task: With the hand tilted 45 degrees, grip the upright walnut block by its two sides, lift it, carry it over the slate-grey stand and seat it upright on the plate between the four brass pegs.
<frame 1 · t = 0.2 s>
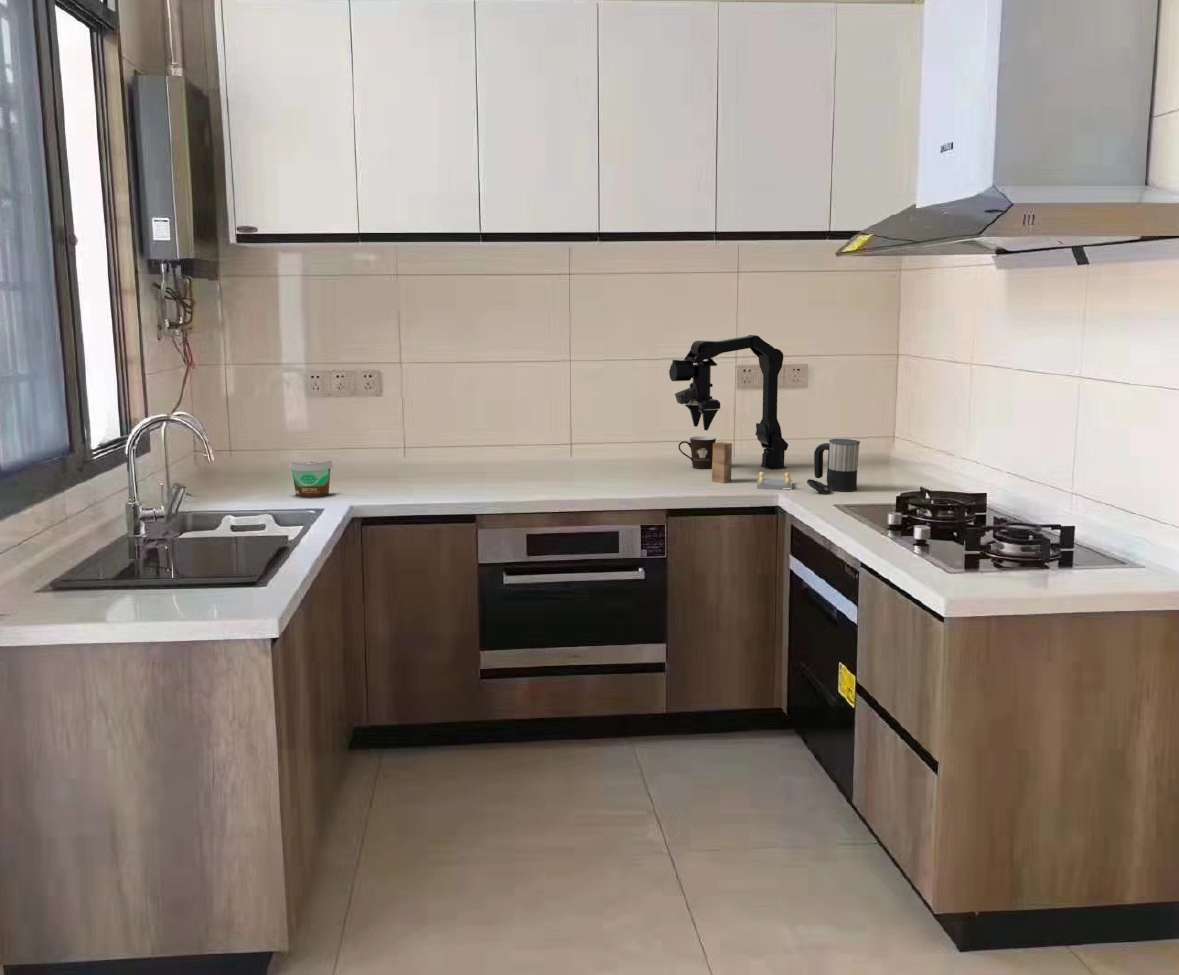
hand: (700, 428, 364), 14 cm above the worktop, tool pointing down, fingers open, 9 cm apart
coffee mug: (698, 467, 376), on the worktop
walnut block: (721, 481, 351), on the worktop
peg stand: (774, 485, 343), on the worktop
food container: (312, 496, 324), on the worktop
milk frother: (832, 491, 336), on the worktop
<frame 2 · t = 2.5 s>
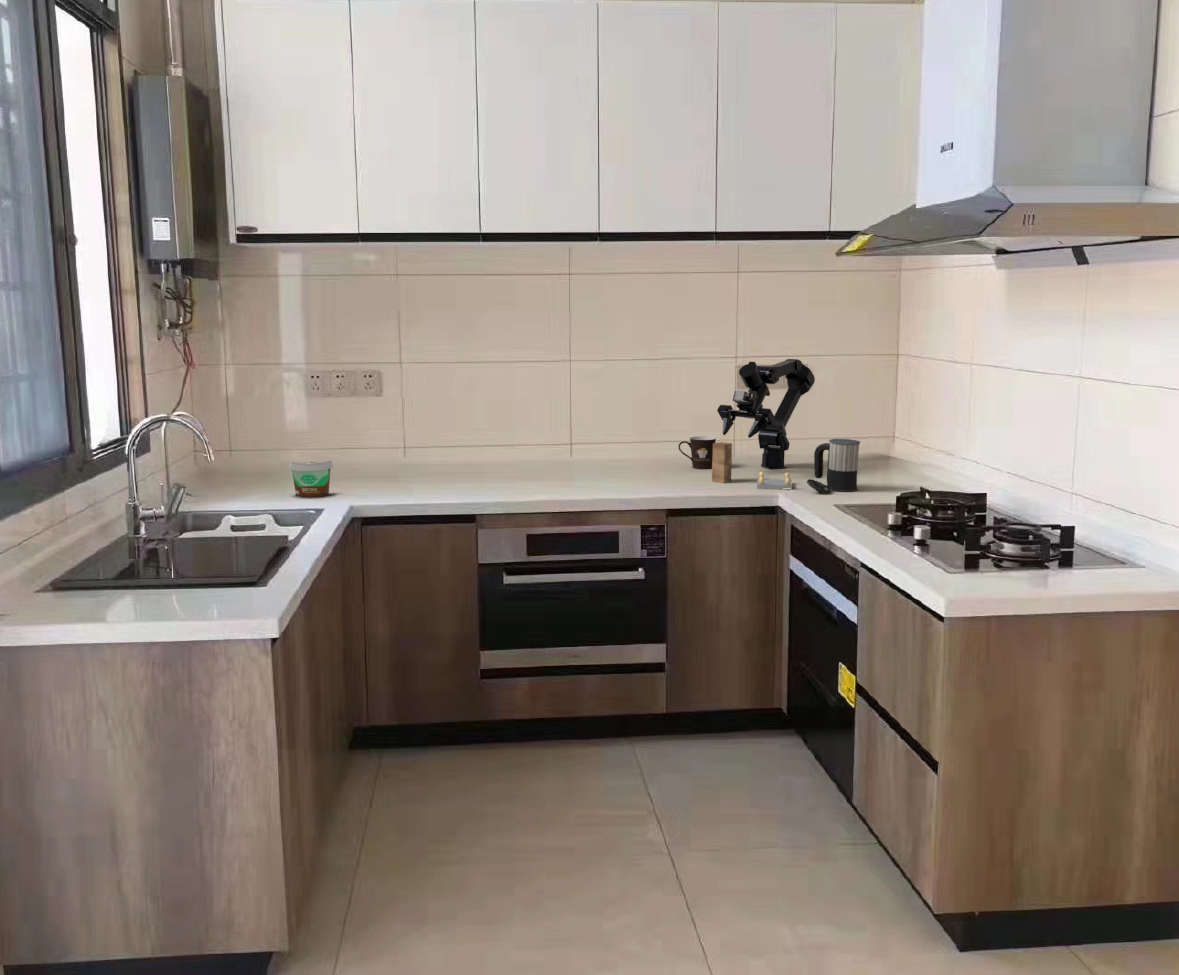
hand: (736, 435, 354), 13 cm above the worktop, tool tilted 45°, fingers open, 9 cm apart
nothing on the worktop moved.
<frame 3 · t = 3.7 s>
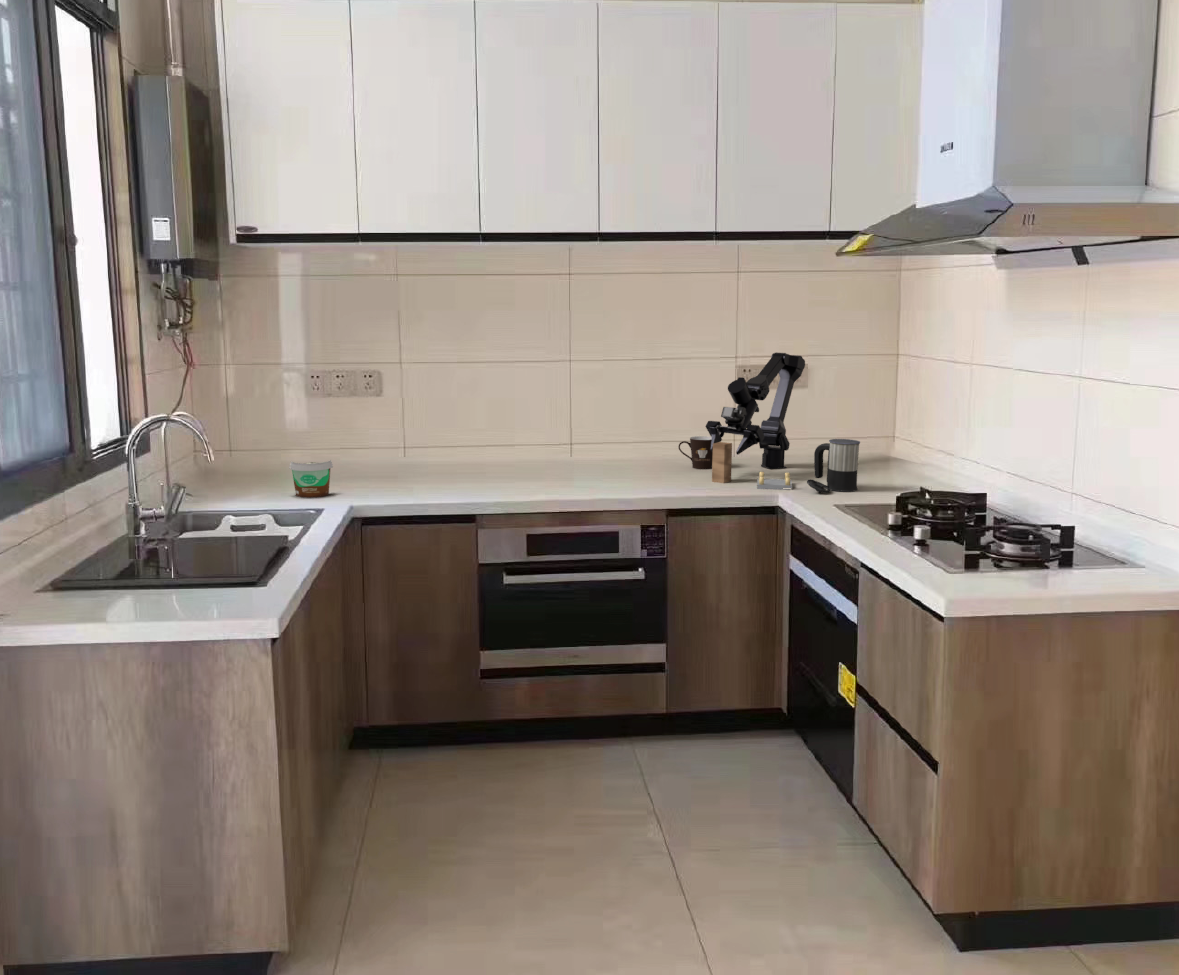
hand: (724, 452, 350), 9 cm above the worktop, tool tilted 45°, fingers open, 9 cm apart
nothing on the worktop moved.
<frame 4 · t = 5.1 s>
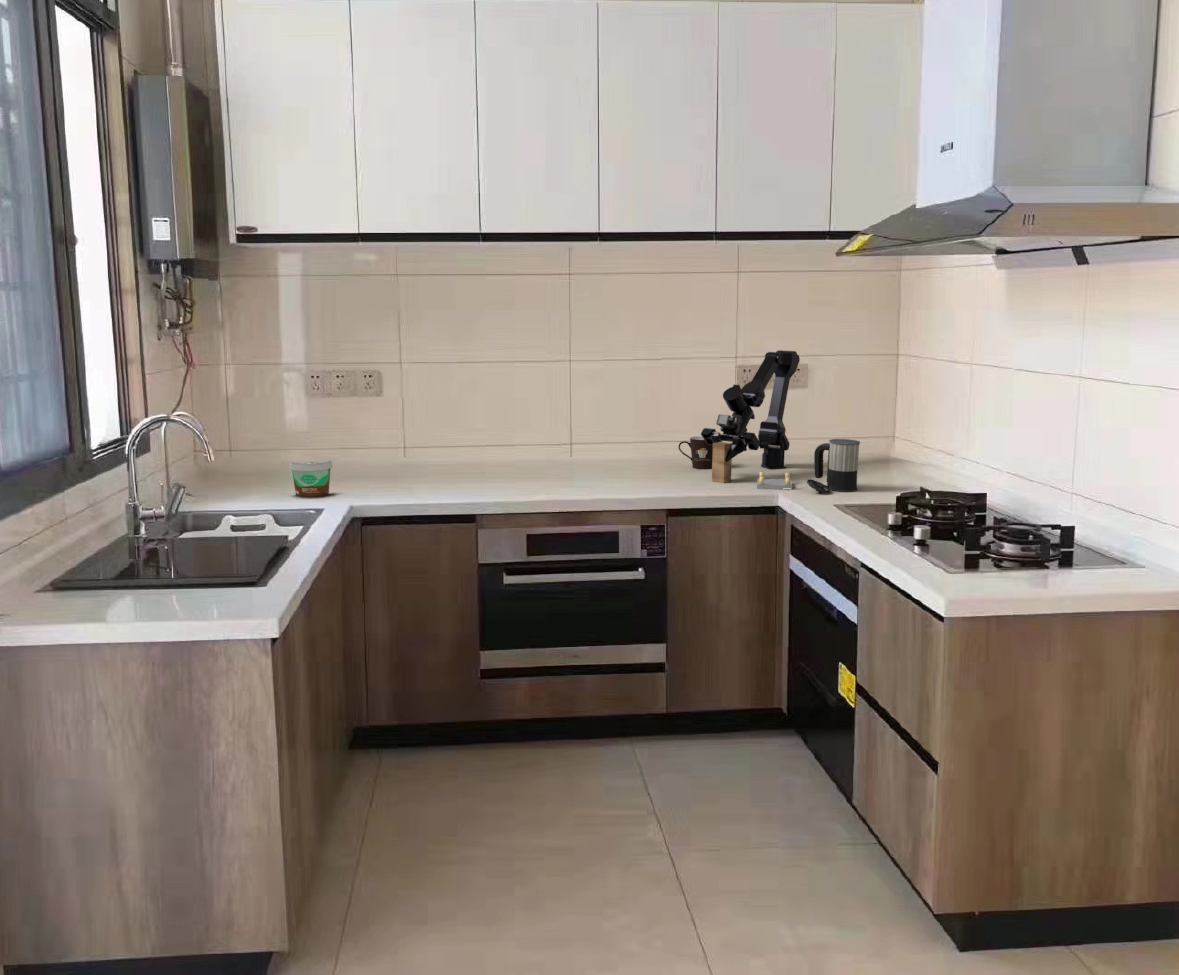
hand: (719, 460, 348), 7 cm above the worktop, tool tilted 45°, fingers closed on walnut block, 4 cm apart
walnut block: (721, 481, 351), on the worktop, touching gripper
everything else where it was.
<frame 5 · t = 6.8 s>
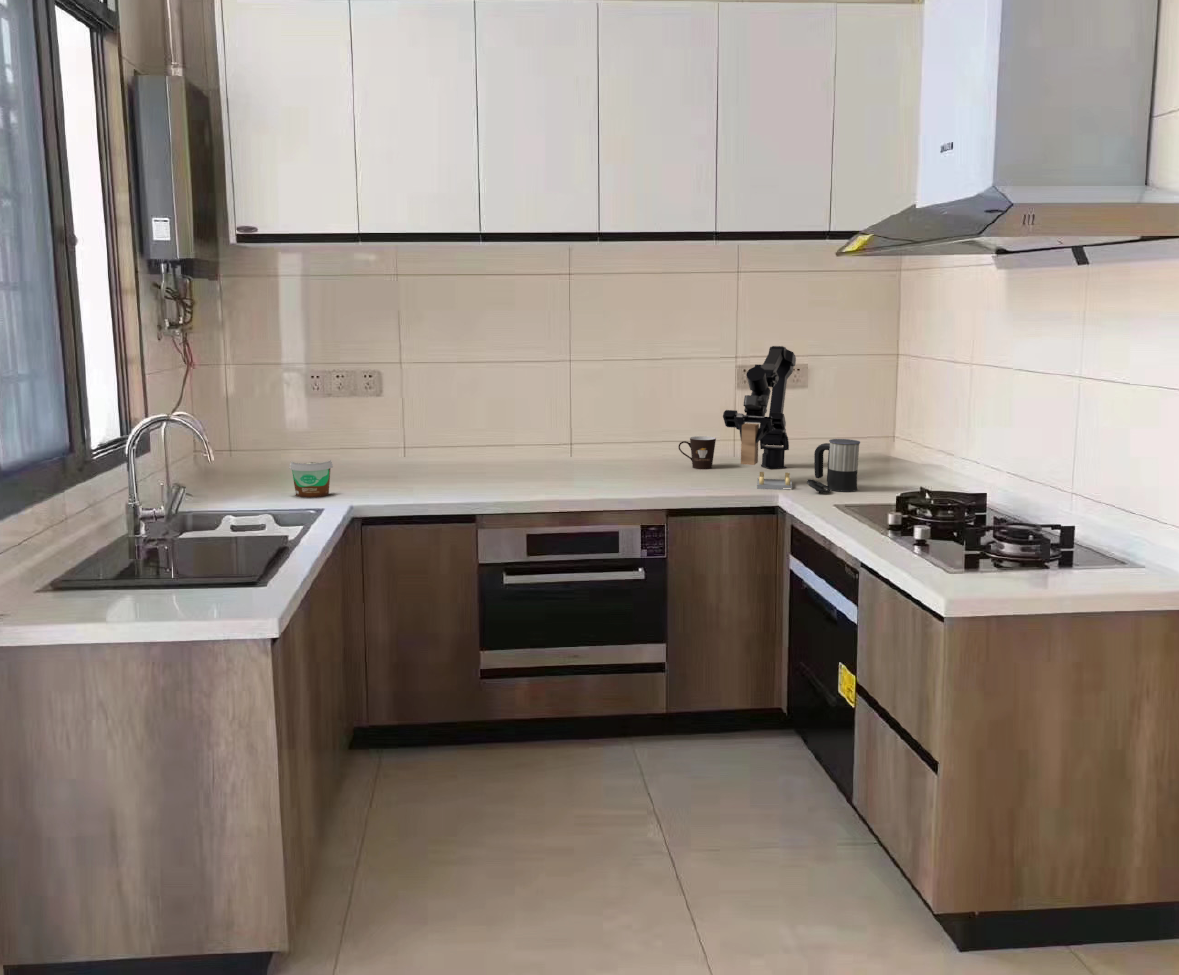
hand: (748, 441, 342), 13 cm above the worktop, tool tilted 45°, fingers closed on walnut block, 4 cm apart
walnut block: (749, 463, 345), point 7 cm above the worktop, touching gripper
everything else where it was.
when the fingers open (9 cm above the worktop, at t = 8.7 s): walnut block moves 1 cm, resting on peg stand.
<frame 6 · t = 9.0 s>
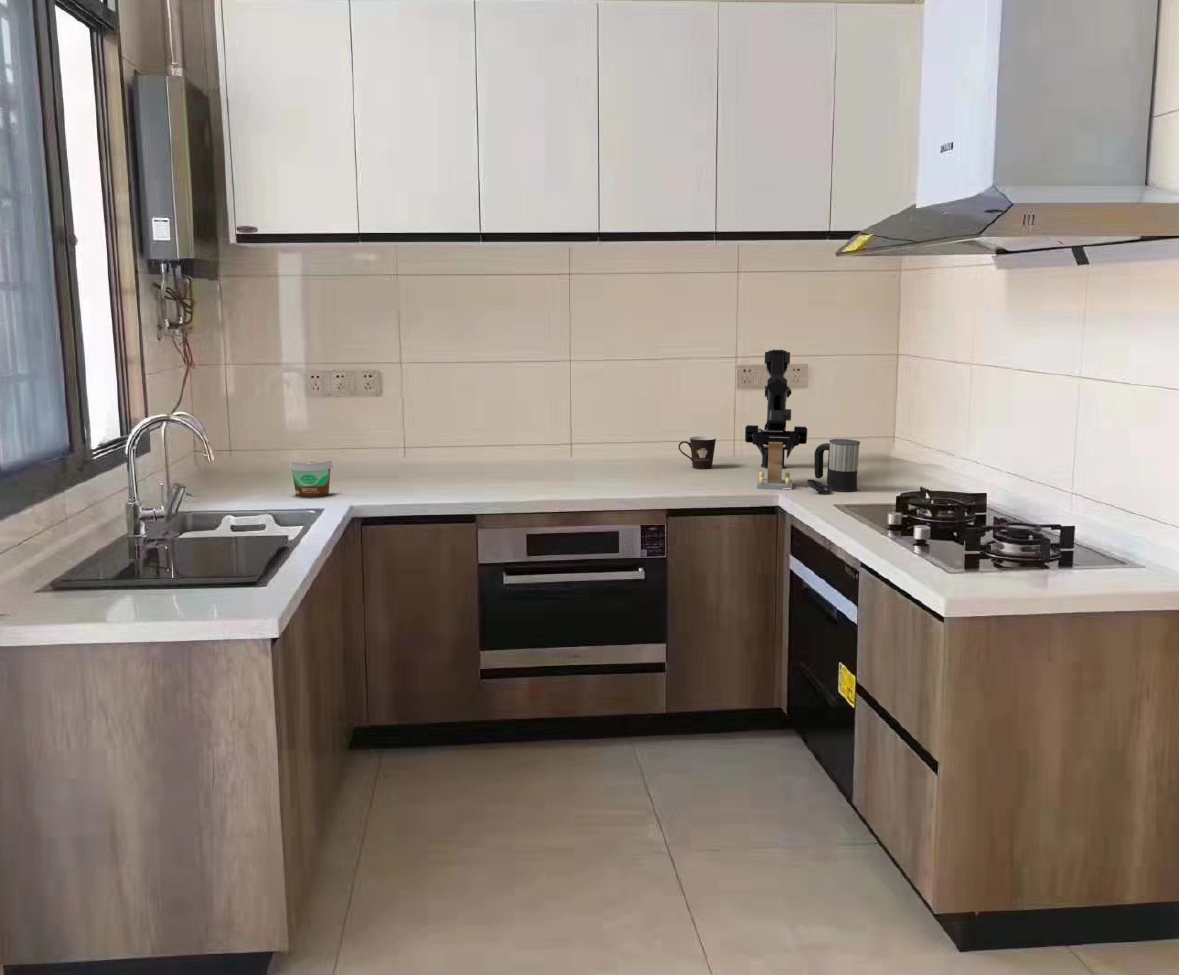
hand: (775, 456, 340), 9 cm above the worktop, tool tilted 45°, fingers open, 7 cm apart
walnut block: (774, 482, 343), point 1 cm above the worktop, touching peg stand
everything else where it was.
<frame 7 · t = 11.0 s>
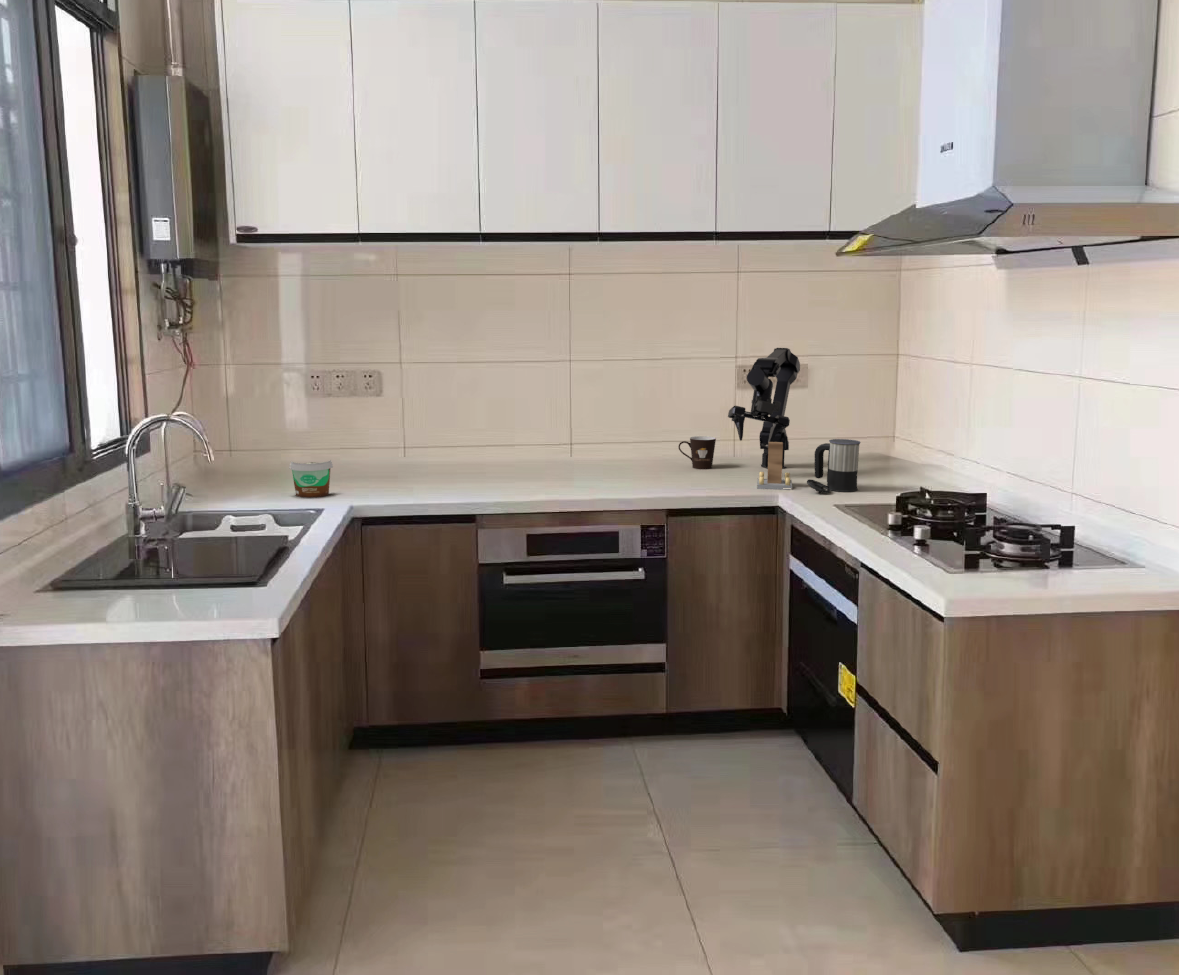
hand: (754, 443, 353), 11 cm above the worktop, tool tilted 25°, fingers open, 9 cm apart
nothing on the worktop moved.
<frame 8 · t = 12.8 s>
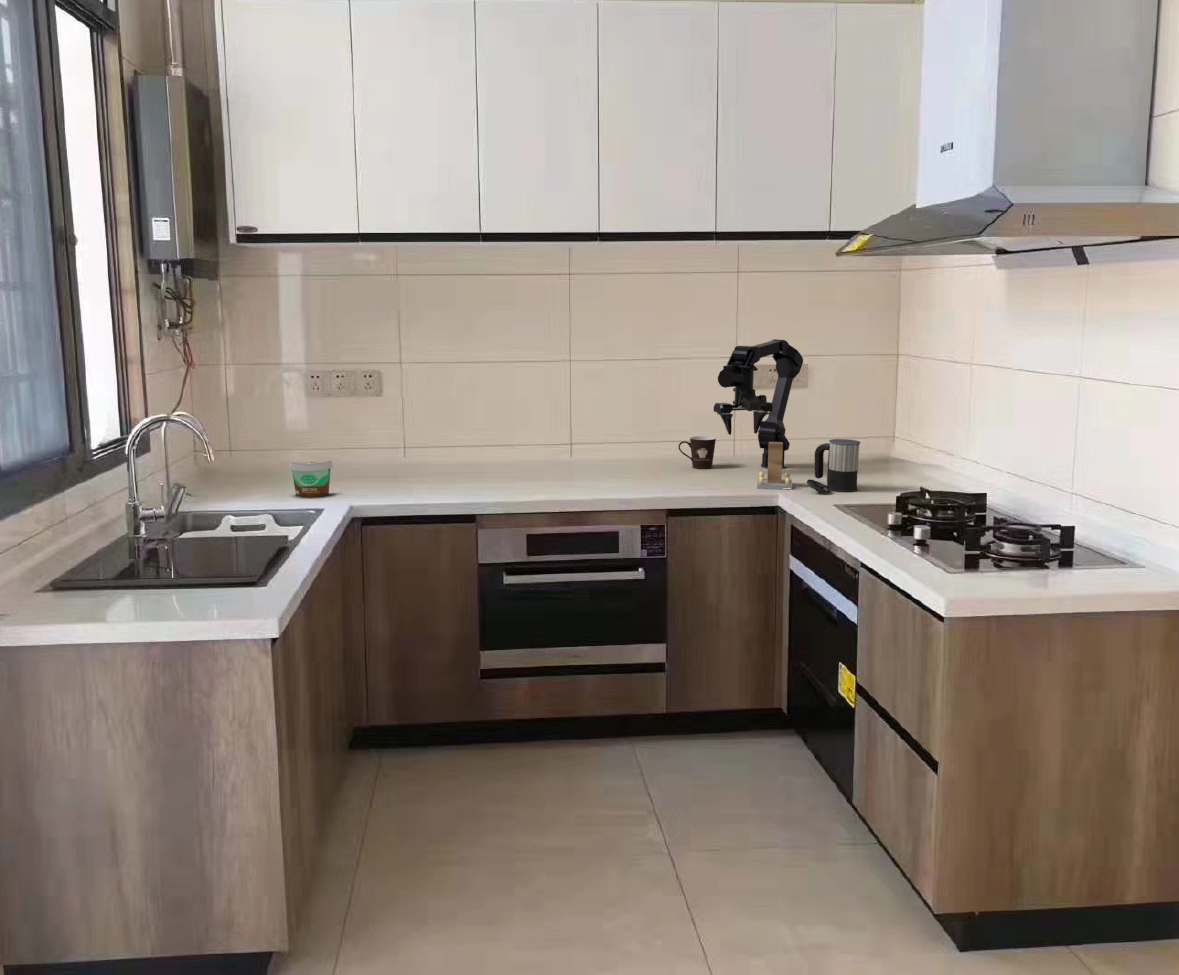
hand: (742, 434, 361), 13 cm above the worktop, tool pointing down, fingers open, 9 cm apart
nothing on the worktop moved.
at the end: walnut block 0.1 cm from the peg stand (horizontally); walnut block tilted 0°; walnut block point 1.2 cm above the worktop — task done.
